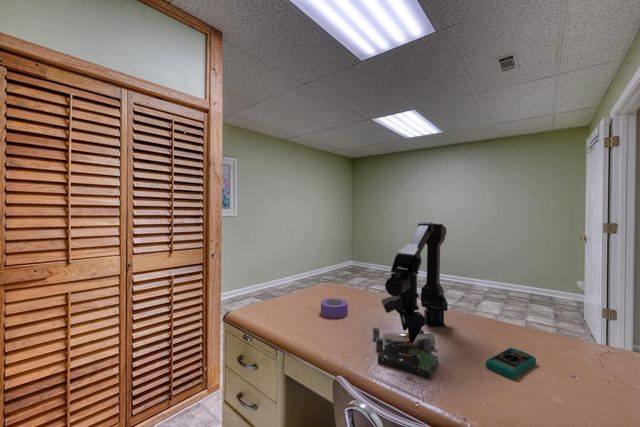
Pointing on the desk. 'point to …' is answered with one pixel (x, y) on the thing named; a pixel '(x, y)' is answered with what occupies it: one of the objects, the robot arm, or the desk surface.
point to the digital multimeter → (511, 362)
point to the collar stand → (380, 341)
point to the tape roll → (334, 308)
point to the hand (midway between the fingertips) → (408, 335)
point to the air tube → (407, 339)
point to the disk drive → (408, 360)
